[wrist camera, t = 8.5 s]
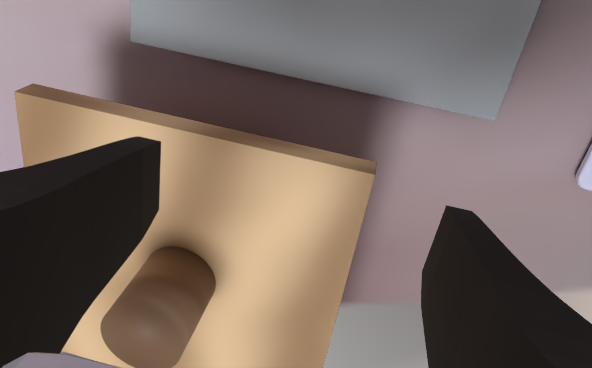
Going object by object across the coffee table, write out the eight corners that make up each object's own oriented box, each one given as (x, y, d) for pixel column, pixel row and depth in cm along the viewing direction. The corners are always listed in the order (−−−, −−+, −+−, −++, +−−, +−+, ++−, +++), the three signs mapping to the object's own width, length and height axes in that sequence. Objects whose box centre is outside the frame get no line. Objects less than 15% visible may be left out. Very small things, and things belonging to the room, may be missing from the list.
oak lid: (376, 162, 17) (368, 232, 13) (312, 401, 24) (293, 496, 20) (32, 83, 18) (-68, 127, 14) (59, 331, 25) (-5, 408, 21)
